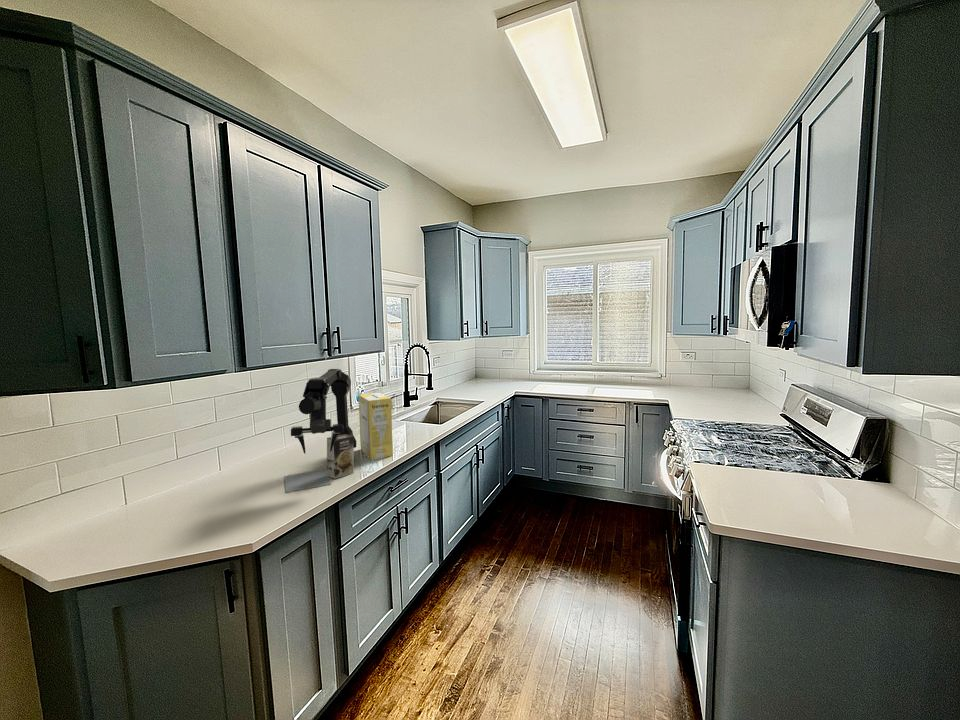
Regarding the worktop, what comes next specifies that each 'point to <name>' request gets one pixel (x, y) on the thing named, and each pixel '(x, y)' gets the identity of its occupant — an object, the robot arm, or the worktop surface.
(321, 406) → the robot arm
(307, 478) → the mat
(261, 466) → the worktop surface
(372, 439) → the pasta box
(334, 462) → the coffee box
